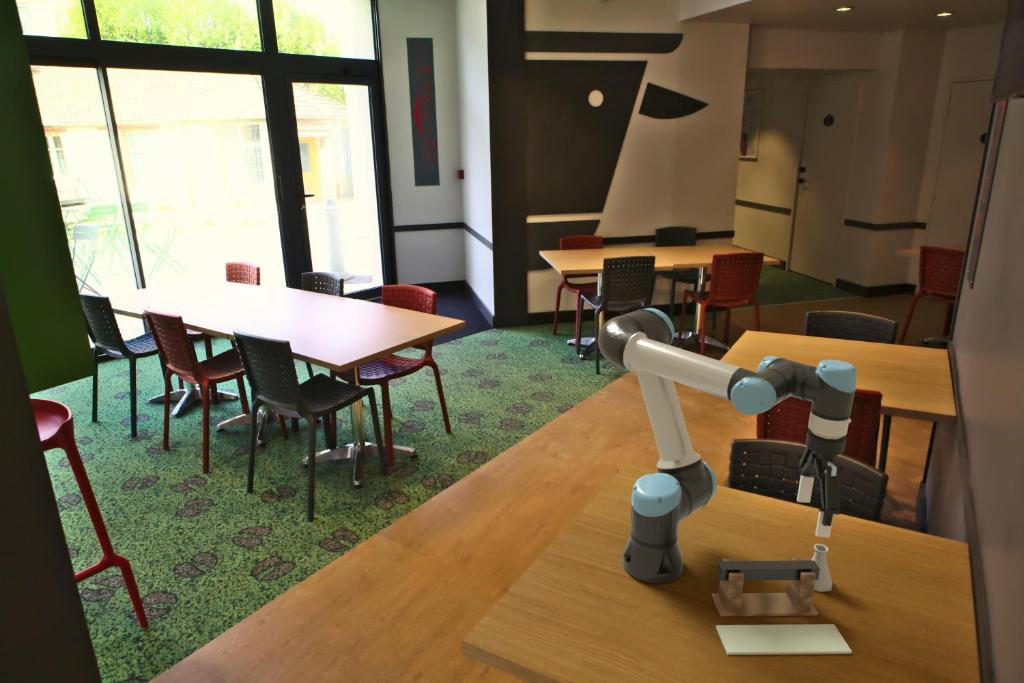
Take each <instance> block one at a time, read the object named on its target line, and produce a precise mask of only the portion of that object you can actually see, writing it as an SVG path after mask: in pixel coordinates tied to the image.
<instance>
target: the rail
mask: <svg viewBox="0 0 1024 683" xmlns="http://www.w3.org/2000/svg"><path fill="white" fill-rule="evenodd" d="M716 566H717V567H716V574H717V576H718V578H719V581H720V580H721V581H728V579H729V573H743V575H744V580H743V582H744V581H746V582H747V581H788V580H800V573H801V572H814V573H815V574H816V579H815V580H818V578H819V571H820V568H819V567H818V565H817V564H816V562H815V561H814V560H812V559H811V560H809V559H808V560H807V559H805V560H797V561H791V560H736V561H722V560H718V561H717V565H716Z"/></svg>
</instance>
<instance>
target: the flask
mask: <svg viewBox="0 0 1024 683" xmlns="http://www.w3.org/2000/svg"><path fill="white" fill-rule="evenodd" d="M813 550H814V553H813V556H812V558H811V560H814V561H815V562H816V564H817V565H818V567H819V568H820V571H819V578H818V580H815V586H814V592H815V591H816V592H820V593H821V592H832V589H833V581H832V577H831V574H830V570H829V566H828V563H827V562H828V561H827V555H828V553H829V547H828V546H826V545H825V544H823V543H817V544H814V546H813Z"/></svg>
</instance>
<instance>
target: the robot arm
mask: <svg viewBox="0 0 1024 683" xmlns="http://www.w3.org/2000/svg"><path fill="white" fill-rule="evenodd" d="M674 338H675V327H674V324H673V322H672V320H671V319H670V317H669V316H668V315H667V314H666V313H665V312H663V311H661V310H659V309H658V308H657V309H656V308H653V307H650V308H649V307H648V308H642V309H636V310H634V311H631V312H629V313H625V314H623V315H618V316H615V317H613V318H610V319H608V321H606V322H605V323H604V324H603V326H602V327H601V328H600V330H599V333H598V338H597V343H598V347H599V350H600V353H601V354H602V356H603V357H604V358H605V359H606V360H607V361H608V362H609V363H611V364H613V365H615V366H617V367H619V368H622V369H626V370H627V371H633V372H634V371H635V372H636V376H637V379H638V383H639V386H640V389H641V393H642V397H643V400H644V404H645V407H646V410H647V411H646V412H647V415H648V419H649V421H650V426H651V428H652V432H653V436H654V437H653V438H654V440H655V443H656V447H657V451H658V455H659V460H658V462H657V464H656V468H657V472H655V473H654V474H653V473H648V474H647V473H646V474H645V475H642V476H640V477H639V478H638V479H637V480H636V481H635V482H634V484H633V486H632V493H631V496H630V497H631V498H630V501H631V511H630V514H631V515H630V535H629V538H628V539H627V542H626V544H625V546H624V549H623V552H622V559H621V560H622V561H621V562H622V566H623V568H624V570H625V572H627V573H628V575H630V576H631V577H632V578H634V579H636V580H638V581H642V582H645V583H649V584H655V585H656V584H657V585H660V584H668V583H671V582H674V581H675V580H677V579H678V578H680V576H681V575H682V574H683V569H684V559H683V555H682V554H683V553H682V551H681V547H680V544H679V541H678V539H679V537H678V536H679V526H680V525H679V524H680V523H681V522H682V521H683V520H685V519H686V518H687V517H689V516H691V515H692V514H694V513H695V512H696V511H698V510H699V509H701V508H704V507H705V506H706V505H708V503H709V502H710V501H711V500H712V499H713V497H714V496H715V494H716V493H717V486H718V483H717V477H716V475H715V472H714V470H713V468H712V467H711V466H709V465H708V463H707V462H706V461H704V460H703V459H702V456H701V455H700V454H699V453H698V452H696V451H695V450H694V449H693V447H692V442H691V439H690V436H689V432H688V429H687V424H686V421H685V417H684V413H683V410H682V408H681V406H682V405H681V402H680V400H679V397H678V396H679V395H678V393H677V389H676V386H675V383H678V384H681V385H684V386H687V387H690V388H692V389H696V390H698V391H701V392H704V393H707V394H710V395H713V396H715V397H719V398H721V399H724V400H727V401H730V402H731V403H732V405H733V407H734V408H735V409H737V411H738V412H740V414H742V415H744V416H752V417H753V416H757V415H760V414H763V413H765V412H767V411H769V410H770V409H772V408H773V407H774V406H776V405H777V404H779V403H781V402H783V401H785V400H786V399H788V398H790V397H793V398H797V399H799V400H802V401H808V402H811V407H810V408H811V409H810V413H809V417H808V418H809V419H808V424H807V425H808V426H807V427H808V430H807V434H806V439H805V445H806V446H805V449H804V450H803V453H802V456H801V458H800V460H799V462H798V469H799V470H800V472H799V473H800V479H799V486H798V492H797V496H796V497H797V498H796V501H797V503H811V498H812V493H813V486H814V480H815V477H814V476H816V478H817V480H819V489H820V501H821V502H820V503H821V507H820V508H818V517H817V523H816V527H815V534H814V535H815V537H819V538H830V537H831V533H832V527H833V521H834V517H835V515H836V516H837V515H841V502H840V501H841V499H840V498H841V494H840V493H841V492H840V491H841V490H840V488H841V487H840V480H841V478H840V477H841V476H840V475H841V469H842V468H841V466H838V465H837V466H836V460H835V457H838V456H839V455H842V454H843V453H844V452H845V448H846V442H847V436H846V435H847V434H848V430H849V429H848V428H849V424H851V422H852V419H851V418H850V417H851V412H852V407H853V403H854V398H855V393H856V390H857V378H858V370H857V368H856V367H855V366H854V365H853V364H852V363H849V362H846V361H843V360H836V359H823V360H821V361H820V362H819V363H818V364H817V366H813V365H810V364H807V363H803V362H798V361H795V360H790V359H789V358H788V359H787V358H786V357H780V356H779V357H778V356H774V355H768V356H765V357H764V358H763V359H762V361H760V363H759V365H758V367H757V368H756V371H753V370H751V369H746V368H744V367H740V366H737V365H734V364H731V363H728V362H725V361H722V360H718V359H715V358H712V357H708V356H705V355H702V354H698V353H696V352H692V351H690V350H689V351H688V350H685V349H682V348H679V347H676V346H674V345H673V346H672V345H671V344H672V343H673V339H674ZM674 382H675V383H674Z"/></svg>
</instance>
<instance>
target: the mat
mask: <svg viewBox="0 0 1024 683" xmlns="http://www.w3.org/2000/svg"><path fill="white" fill-rule="evenodd" d="M715 629H716V630H717V631H716V632H717V634H718V636H719V638H720V641H721V643H722V646H723V648H724V650H725V653H726V655H727V656H728V655H732V656H733V655H734V656H735V655H737V656H740V655H741V656H742V655H744V656H745V655H752V656H753V655H838V654H839V655H840V654H841V655H850V654H853V650H852V649H851V648H850V647H849V645H848V643H847V642H846V641H845V639H844V637H843V636H842V634H841V633H840V631H839V630H838V628H837V627H836V624H832V623H831V624H829V623H828V624H826V623H825V624H823V623H821V624H820V623H819V624H815V623H814V624H813V623H812V624H809V623H807V624H803V623H802V624H729V625H728V624H727V625H726V624H725V625H724V624H723V625H722V624H721V625H719V624H716V625H715Z"/></svg>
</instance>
